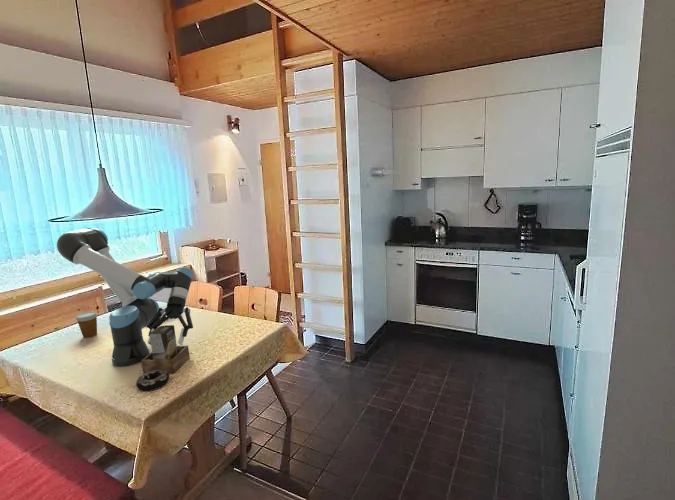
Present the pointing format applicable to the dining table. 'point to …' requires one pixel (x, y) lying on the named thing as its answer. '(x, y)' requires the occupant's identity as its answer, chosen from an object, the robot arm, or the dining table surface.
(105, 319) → the dining table surface
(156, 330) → the coffee box
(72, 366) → the dining table surface
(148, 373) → the donut
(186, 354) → the open wooden box
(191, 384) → the dining table surface
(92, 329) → the disposable coffee cup
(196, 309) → the dining table surface
